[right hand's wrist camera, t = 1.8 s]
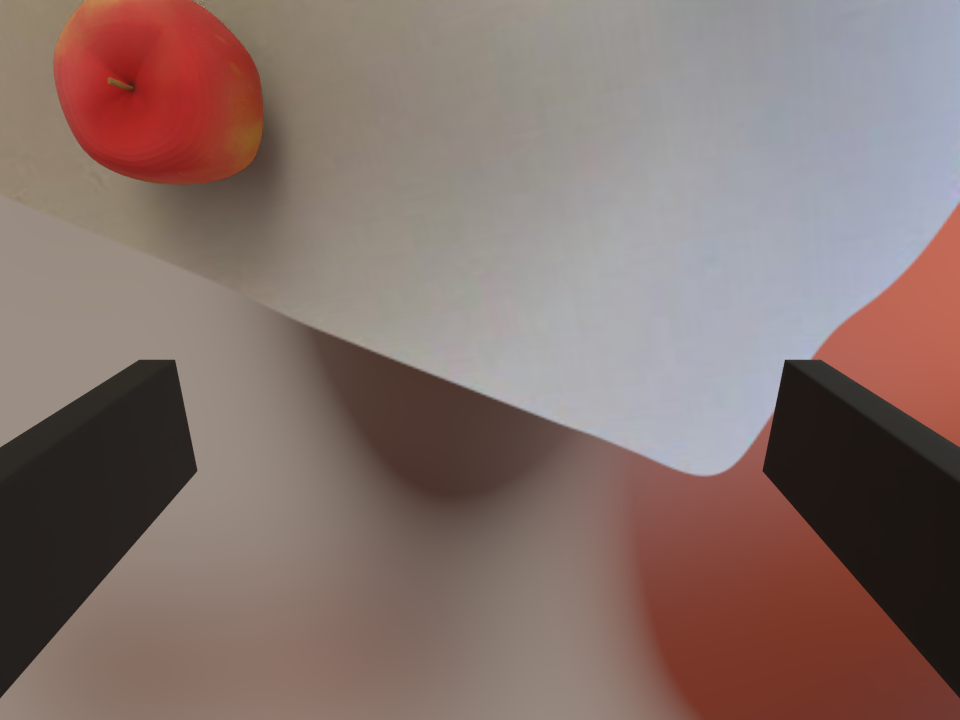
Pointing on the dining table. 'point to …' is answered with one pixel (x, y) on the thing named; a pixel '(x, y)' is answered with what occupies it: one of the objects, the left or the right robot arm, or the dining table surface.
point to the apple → (159, 90)
